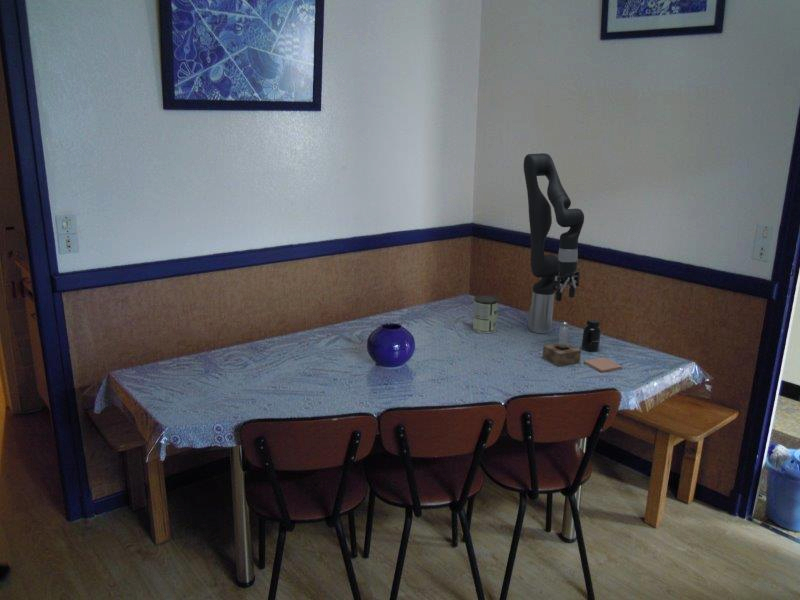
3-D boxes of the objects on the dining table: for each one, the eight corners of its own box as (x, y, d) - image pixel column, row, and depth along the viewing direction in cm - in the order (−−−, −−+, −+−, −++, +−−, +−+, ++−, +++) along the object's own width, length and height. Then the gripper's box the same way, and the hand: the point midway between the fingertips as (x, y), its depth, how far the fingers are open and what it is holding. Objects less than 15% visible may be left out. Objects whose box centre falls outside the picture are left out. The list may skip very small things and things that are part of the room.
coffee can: (474, 324, 303) (476, 293, 299) (497, 326, 301) (499, 295, 297) (470, 332, 293) (472, 300, 289) (495, 334, 291) (497, 302, 287)
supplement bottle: (594, 353, 274) (598, 324, 270) (578, 349, 278) (581, 320, 274) (601, 348, 279) (604, 320, 275) (585, 344, 283) (588, 316, 279)
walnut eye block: (542, 357, 268) (543, 345, 266) (562, 353, 272) (563, 341, 271) (558, 366, 259) (560, 354, 258) (579, 362, 264) (581, 350, 262)
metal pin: (554, 359, 266) (558, 320, 262) (561, 358, 268) (565, 319, 263) (560, 362, 264) (564, 323, 259) (566, 360, 265) (571, 322, 260)
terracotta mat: (583, 363, 263) (583, 360, 263) (603, 359, 268) (603, 357, 267) (601, 372, 255) (602, 370, 254) (622, 368, 259) (622, 366, 259)
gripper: (570, 255, 280) (568, 294, 284) (548, 260, 271) (546, 300, 275) (586, 258, 274) (583, 297, 278) (564, 263, 265) (562, 304, 269)
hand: (565, 299), depth 277 cm, fingers open, 8 cm apart
